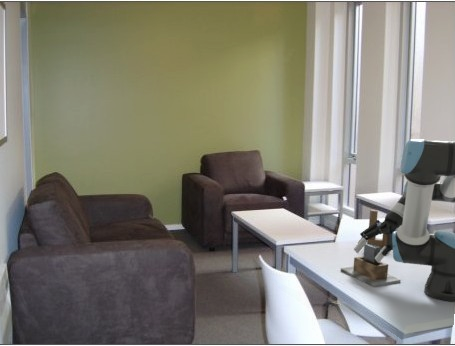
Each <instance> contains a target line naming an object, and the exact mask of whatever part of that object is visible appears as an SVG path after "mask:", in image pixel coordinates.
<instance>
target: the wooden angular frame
mask: <svg viewBox="0 0 455 346" xmlns="http://www.w3.org/2000/svg"><path fill="white" fill-rule="evenodd" d="M378 212H379V211H378V210H377V209H370V210H369V219H368V220H369V221H368V222H369V223H368V228H369V227H370V226H371V225H373V224H374V223H375V222H376V221H377V220H378ZM379 230H380V229H379ZM376 237H377V236H375V237H373V238H370V239H368V240H367V243H366V244H369V243H371V244H373V245H376V246H378V247H380V248H383V247H384V246H387V235H386V234H382V238H378V237H377V238H376Z"/></svg>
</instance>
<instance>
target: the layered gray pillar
mask: <svg viewBox="0 0 455 346" xmlns="http://www.w3.org/2000/svg"><path fill="white" fill-rule="evenodd" d="M380 251H381V247H378V246H376V245H373V244H371V243H369V244H367V243H366V244H365V245H364V247H363V256H364V258H363V260H364V261H366V262H369V263H371V264H373V265H379V263H378V262H377V261H376V260H375V257H376V256H377V254H378V253H379V252H380Z"/></svg>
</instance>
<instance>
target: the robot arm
mask: <svg viewBox="0 0 455 346" xmlns="http://www.w3.org/2000/svg"><path fill="white" fill-rule="evenodd" d="M401 157H402V158H401V161H400V172H401V173H402V174H404V177H405V180H406V182H405V184H404V188H403V192H402V193H403V194H402V196H401V197H400V198H399V199H398V201H397V202H396V203H395V204H394V205H393V206H392V207H391V209H390V211H389V212H388V213H387V214H386V215H385V217H384V220H383V221H380V220H379V219H377V221H376V222H375V223H374V224H373V225H371V226H370V227H369V226H368V227H367V228H365V229H364V230H363V231H361V232H360V233H359V234H360V236H361V237H360V239H359V240H358V241H357V244H356V245H355V247H353V250H354V251H355V253H356V254H359V253H360V251H362V249H364V245H365V244H367V240H368V239H370V238H373V237H375V236H376V237H377V236H378V235H383V234H386V235H387V246H384V247H381V248H380V252H379V253H378V254H377V256H376V257H375V260H376V261H377V262H378V263H379V262H380V261H381V262H382V260H383V259H384V257H386V256H388V254H389V253H390V251H392V257H393V260H394V261H395V262H397V263H402V264H409V265H410V264H412V265H418V266H419V265H420V266H430V267H431V269H430V273H429V275H428V277H427V279H426V282H425V283H424V287H423V288H424V289H423V290H424V293H425V294H426V295H428V296H430V297H432V298H435V299H438V300H441V301H446V302H455V233H454V232H450V231H445V230H444V231H443V230H435V232H434V234H430V232H429V230H428V229H427V227H428V223H429V222H428V221H429V216H430V211H431V204H432V201H433V202H434V201H435V202H444V203H453V204H455V140H454V141H453V140H435V139H423V138H420V139H409V140H408V141H407V142H406V143H405V146H404V148H403V151H402V156H401ZM441 177H444V178H443V179H442V181H441V182H440V180H441ZM379 229H380V230H379Z"/></svg>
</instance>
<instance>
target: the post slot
mask: <svg viewBox="0 0 455 346" xmlns="http://www.w3.org/2000/svg"><path fill="white" fill-rule="evenodd" d="M363 258H364V255H363V256H356V257H354V259H353V266H349V267H341V268H340V272H343V273H345V274H346V275H348V276H351V277H353V278H354V279H357V280H359V281H361V282H362V283H365V284H367V285H368V286H370V287H373V288H375V287H381V286H387V285H392V284H398V283H401V281H402V280H401V279H400V278H398V277H395V276H394V275H391V274H389V273H388V271H389V264H388V263H386V262H384V261H382V260H381V261H380V262H379V265H373V264H371V263H369V262H366V261H364V260H363Z"/></svg>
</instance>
